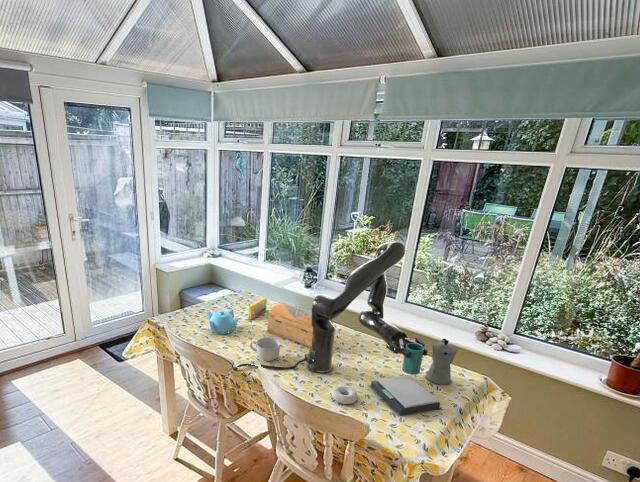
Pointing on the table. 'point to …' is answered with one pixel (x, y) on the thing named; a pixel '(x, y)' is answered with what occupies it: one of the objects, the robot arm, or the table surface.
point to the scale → (405, 395)
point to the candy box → (257, 308)
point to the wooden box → (291, 323)
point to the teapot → (222, 321)
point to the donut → (344, 399)
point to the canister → (413, 359)
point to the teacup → (266, 348)
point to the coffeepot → (441, 362)
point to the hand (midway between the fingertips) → (418, 354)
